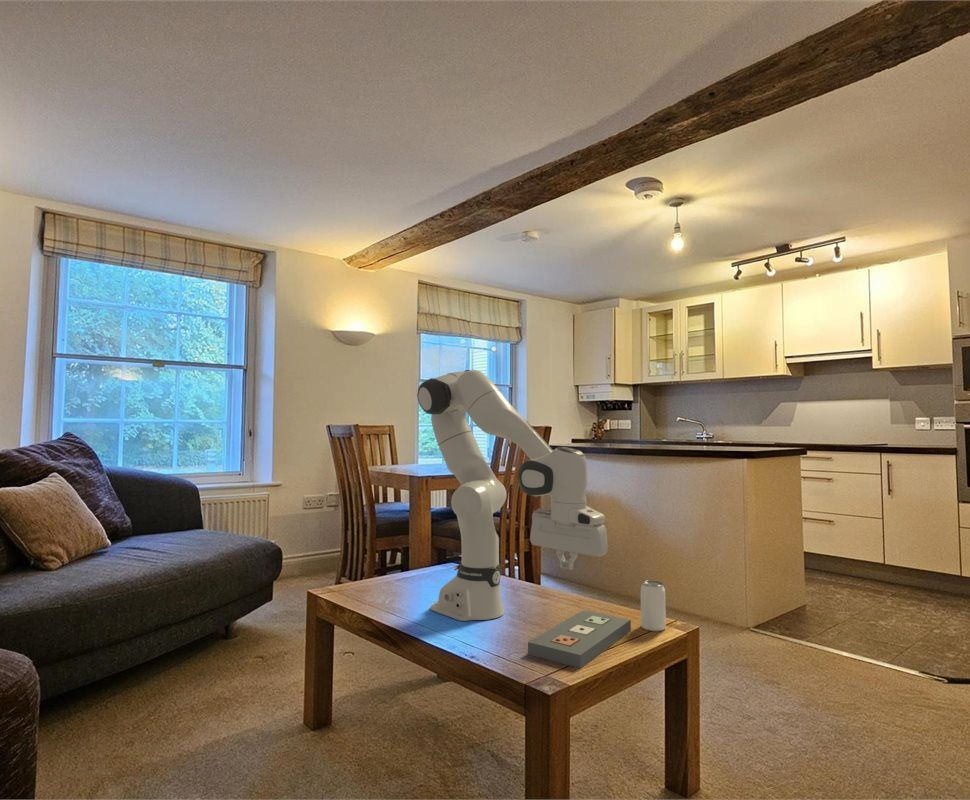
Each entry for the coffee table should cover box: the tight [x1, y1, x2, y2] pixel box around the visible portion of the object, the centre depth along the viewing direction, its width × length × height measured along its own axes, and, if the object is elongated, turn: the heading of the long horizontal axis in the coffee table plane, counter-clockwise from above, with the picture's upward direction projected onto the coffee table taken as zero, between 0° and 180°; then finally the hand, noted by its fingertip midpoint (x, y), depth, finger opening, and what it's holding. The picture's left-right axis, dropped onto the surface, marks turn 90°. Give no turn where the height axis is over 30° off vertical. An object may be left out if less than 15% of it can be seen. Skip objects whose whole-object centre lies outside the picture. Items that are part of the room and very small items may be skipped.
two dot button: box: [584, 616, 610, 626], centre depth 157 cm, size 5×5×3 cm
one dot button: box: [569, 625, 595, 636], centre depth 150 cm, size 5×5×3 cm
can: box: [640, 580, 667, 632], centre depth 161 cm, size 6×6×12 cm
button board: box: [527, 609, 632, 669], centre depth 150 cm, size 14×30×3 cm, turn 144°
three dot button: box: [551, 635, 579, 647], centre depth 142 cm, size 5×5×3 cm
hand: (566, 568), depth 146 cm, fingers closed
